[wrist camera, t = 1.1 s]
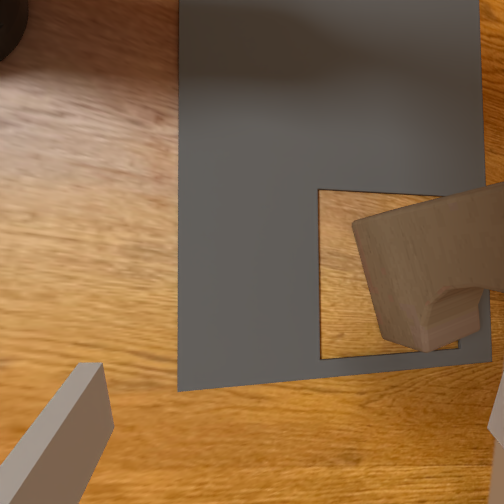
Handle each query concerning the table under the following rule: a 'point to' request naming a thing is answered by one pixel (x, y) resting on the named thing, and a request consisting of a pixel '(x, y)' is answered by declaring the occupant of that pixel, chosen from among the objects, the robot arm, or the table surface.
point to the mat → (309, 166)
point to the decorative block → (433, 265)
